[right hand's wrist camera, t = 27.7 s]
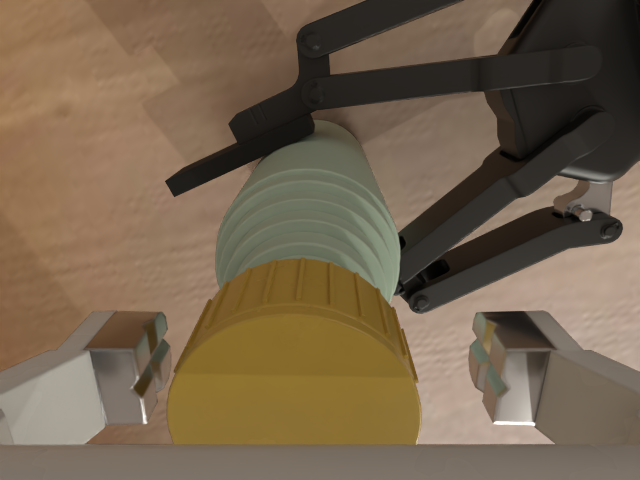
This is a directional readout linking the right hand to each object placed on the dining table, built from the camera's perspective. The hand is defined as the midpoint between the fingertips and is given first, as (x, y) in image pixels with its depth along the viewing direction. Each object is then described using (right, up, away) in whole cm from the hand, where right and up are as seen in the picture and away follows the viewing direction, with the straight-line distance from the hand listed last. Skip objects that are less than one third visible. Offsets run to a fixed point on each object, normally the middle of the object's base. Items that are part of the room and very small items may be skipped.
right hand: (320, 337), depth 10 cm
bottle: (0, +6, +16) cm, 17 cm away
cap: (0, -1, -2) cm, 2 cm away
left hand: (-5, +2, +11) cm, 12 cm away
